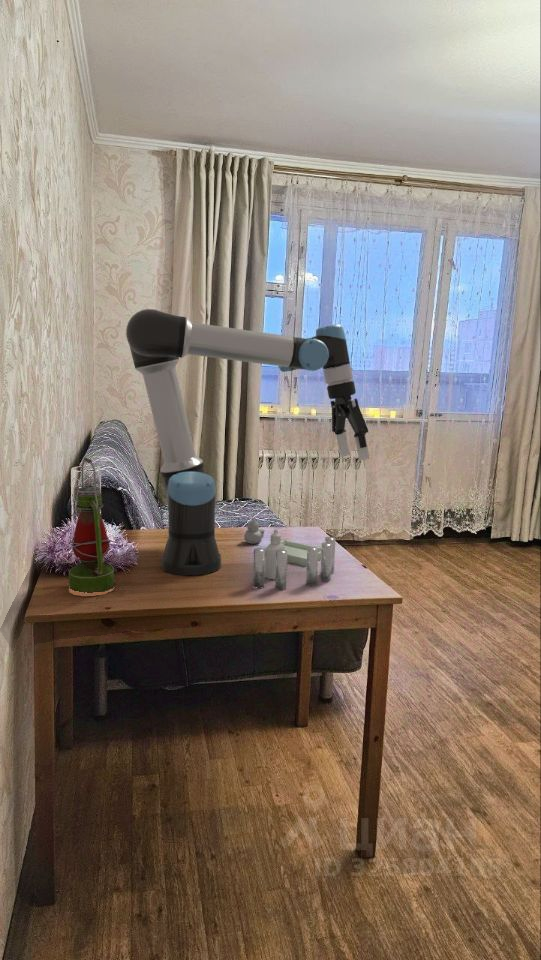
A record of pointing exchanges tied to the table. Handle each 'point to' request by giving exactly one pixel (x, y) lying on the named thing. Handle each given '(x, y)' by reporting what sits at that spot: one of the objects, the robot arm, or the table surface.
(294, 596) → the table surface
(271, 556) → the eye dropper bottle
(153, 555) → the table surface
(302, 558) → the tray
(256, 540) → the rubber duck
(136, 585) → the table surface
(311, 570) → the spacers
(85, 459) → the lantern
